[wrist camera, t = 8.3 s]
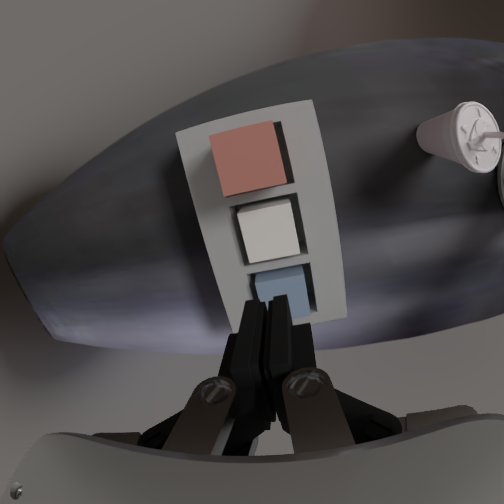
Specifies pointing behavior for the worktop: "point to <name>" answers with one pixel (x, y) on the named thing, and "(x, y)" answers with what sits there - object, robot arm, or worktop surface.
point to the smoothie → (463, 137)
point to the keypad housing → (297, 188)
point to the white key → (268, 229)
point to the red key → (248, 158)
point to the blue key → (285, 288)
